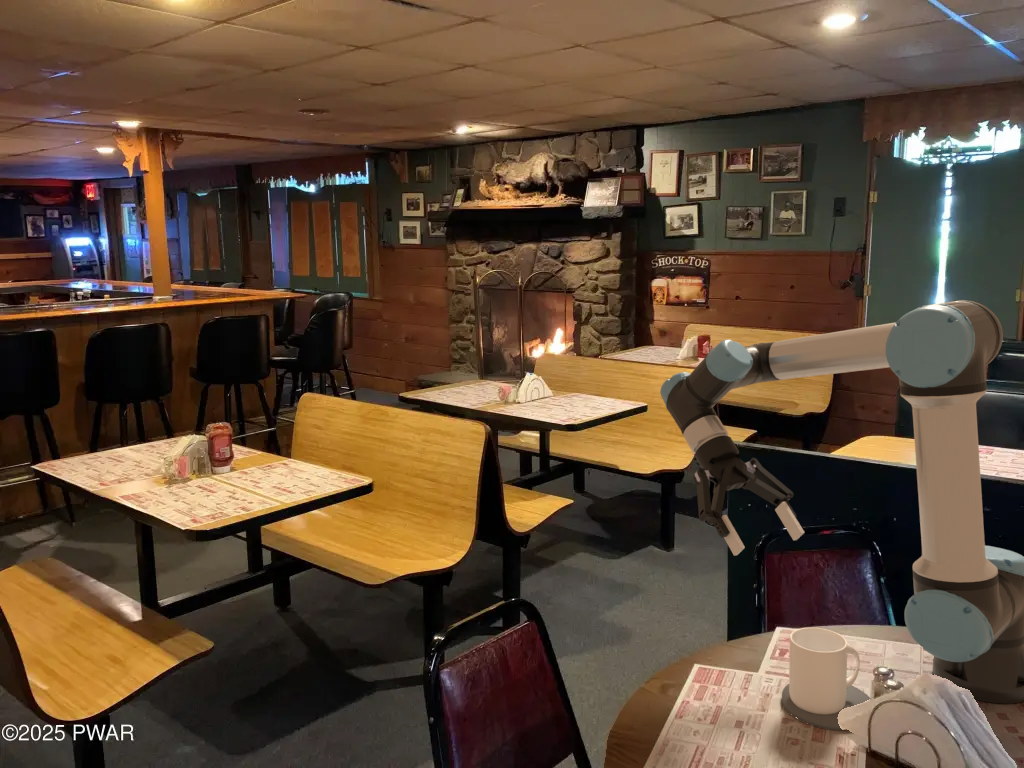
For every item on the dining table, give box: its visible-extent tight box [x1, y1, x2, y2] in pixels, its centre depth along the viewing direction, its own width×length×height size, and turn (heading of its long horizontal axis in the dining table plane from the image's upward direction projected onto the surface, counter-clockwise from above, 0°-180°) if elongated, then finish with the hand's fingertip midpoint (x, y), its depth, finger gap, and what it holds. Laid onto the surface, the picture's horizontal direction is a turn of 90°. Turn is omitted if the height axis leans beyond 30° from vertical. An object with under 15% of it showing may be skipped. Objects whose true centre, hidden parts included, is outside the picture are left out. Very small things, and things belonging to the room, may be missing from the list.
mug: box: [788, 627, 861, 715], centre depth 130 cm, size 9×12×11 cm
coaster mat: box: [781, 683, 872, 732], centre depth 131 cm, size 14×14×1 cm
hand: (770, 544), depth 141 cm, fingers open, 13 cm apart
